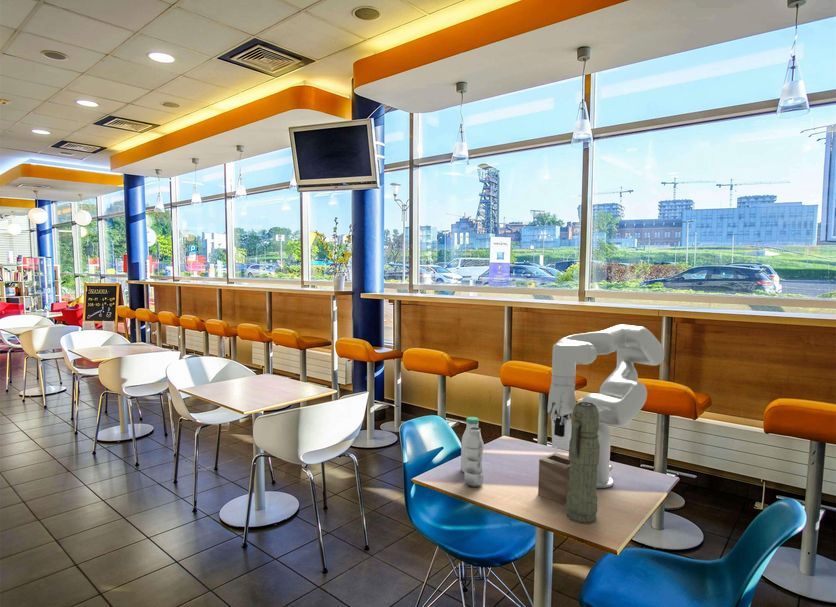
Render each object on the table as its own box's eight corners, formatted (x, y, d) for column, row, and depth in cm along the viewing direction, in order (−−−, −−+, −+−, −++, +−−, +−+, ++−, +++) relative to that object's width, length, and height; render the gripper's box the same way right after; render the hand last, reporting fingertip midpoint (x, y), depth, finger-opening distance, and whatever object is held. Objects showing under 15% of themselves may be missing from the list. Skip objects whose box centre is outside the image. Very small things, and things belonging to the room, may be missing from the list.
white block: (556, 445, 173) (555, 415, 172) (572, 448, 168) (571, 418, 168) (552, 447, 171) (551, 417, 171) (568, 450, 166) (567, 420, 166)
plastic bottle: (482, 489, 174) (484, 432, 172) (462, 487, 175) (464, 430, 174) (483, 482, 180) (485, 426, 179) (464, 480, 181) (466, 425, 180)
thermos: (558, 518, 154) (563, 404, 152) (576, 505, 163) (580, 398, 161) (586, 528, 148) (591, 410, 146) (603, 515, 157) (608, 403, 155)
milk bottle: (476, 476, 185) (478, 422, 184) (457, 472, 189) (458, 419, 187) (484, 469, 192) (486, 417, 190) (465, 465, 195) (467, 414, 194)
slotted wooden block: (554, 486, 178) (555, 452, 177) (580, 495, 171) (582, 460, 170) (538, 494, 171) (539, 459, 170) (564, 504, 164) (566, 468, 163)
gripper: (566, 375, 177) (564, 427, 178) (539, 381, 166) (537, 437, 167) (586, 379, 171) (584, 432, 172) (560, 385, 160) (558, 443, 161)
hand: (561, 434), depth 170 cm, fingers closed on white block, 2 cm apart
